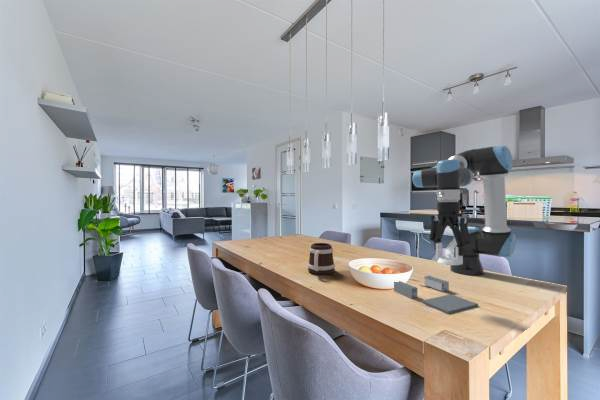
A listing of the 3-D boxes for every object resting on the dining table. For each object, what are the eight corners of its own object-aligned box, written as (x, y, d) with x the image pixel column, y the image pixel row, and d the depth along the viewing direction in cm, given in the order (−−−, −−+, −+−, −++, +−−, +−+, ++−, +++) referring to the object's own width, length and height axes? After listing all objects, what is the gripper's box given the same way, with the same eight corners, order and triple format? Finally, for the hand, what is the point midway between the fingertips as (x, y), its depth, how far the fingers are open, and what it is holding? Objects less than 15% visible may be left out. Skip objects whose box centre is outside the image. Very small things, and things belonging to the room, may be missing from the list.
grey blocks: (429, 284, 125) (429, 275, 125) (448, 291, 115) (448, 281, 115) (393, 290, 116) (393, 281, 116) (411, 298, 107) (411, 288, 107)
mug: (311, 267, 158) (311, 241, 158) (337, 269, 153) (337, 242, 153) (301, 276, 139) (301, 247, 139) (330, 279, 134) (329, 249, 134)
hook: (479, 250, 97) (465, 240, 96) (457, 276, 99) (444, 266, 97) (464, 243, 104) (452, 233, 103) (444, 267, 106) (432, 258, 104)
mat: (451, 296, 110) (450, 294, 110) (478, 306, 99) (478, 303, 99) (421, 302, 103) (421, 300, 103) (447, 313, 93) (447, 311, 93)
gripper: (419, 201, 109) (419, 257, 109) (467, 201, 90) (468, 269, 90) (432, 200, 112) (433, 255, 112) (482, 201, 93) (483, 267, 93)
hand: (448, 261), depth 101 cm, fingers closed on hook, 8 cm apart
